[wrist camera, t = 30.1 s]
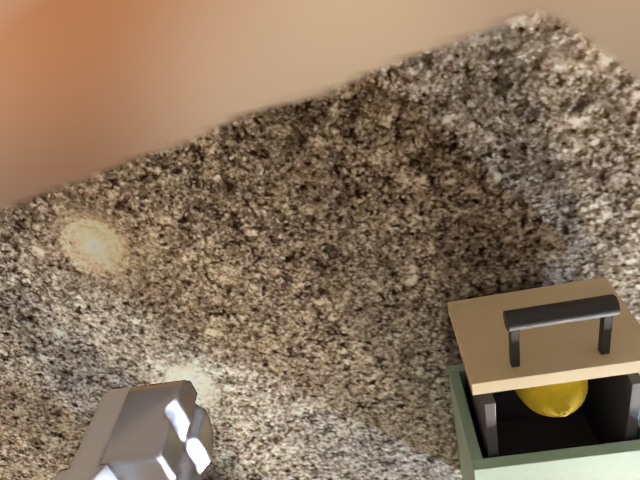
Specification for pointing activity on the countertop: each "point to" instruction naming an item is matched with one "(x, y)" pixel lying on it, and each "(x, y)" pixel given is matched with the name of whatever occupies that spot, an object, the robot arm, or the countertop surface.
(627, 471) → the cabinet
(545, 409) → the lemon
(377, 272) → the countertop surface
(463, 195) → the countertop surface
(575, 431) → the drawer
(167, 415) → the robot arm
